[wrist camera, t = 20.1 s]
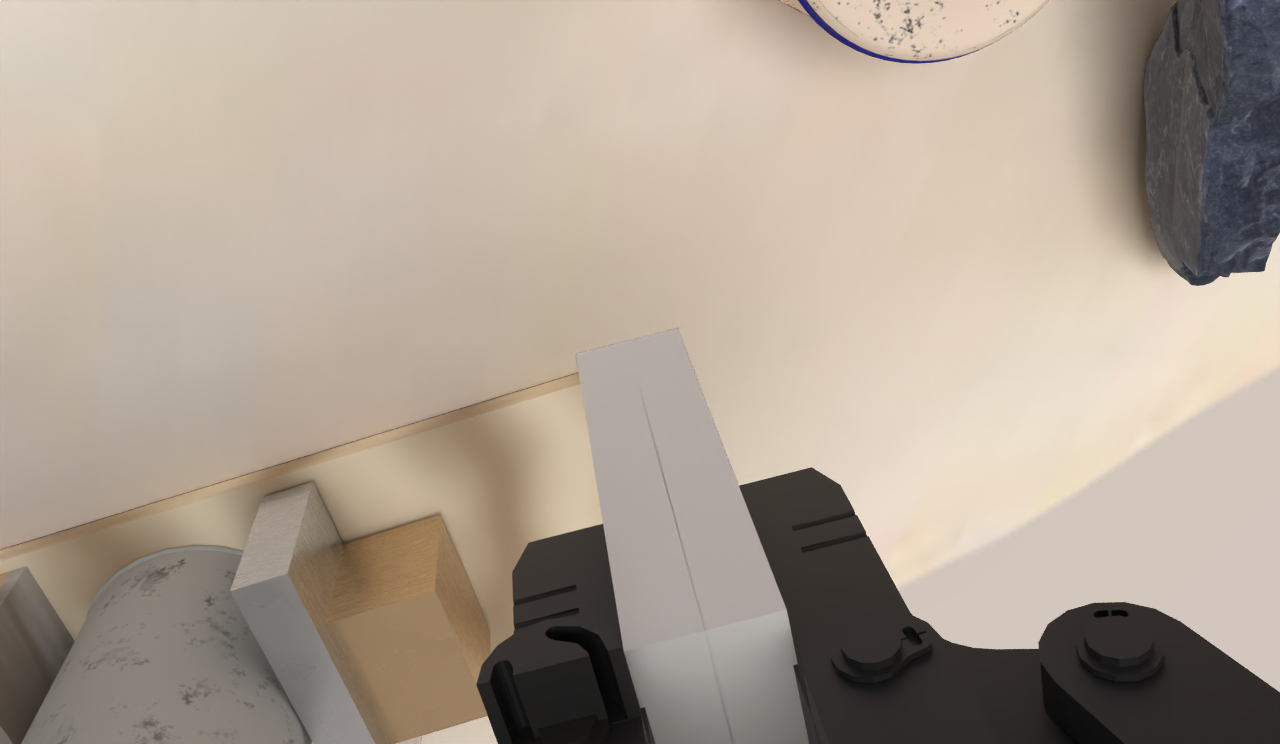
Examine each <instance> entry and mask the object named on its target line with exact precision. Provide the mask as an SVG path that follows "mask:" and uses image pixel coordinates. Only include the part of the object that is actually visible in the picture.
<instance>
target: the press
mask: <svg viewBox="0 0 1280 744" xmlns="http://www.w3.org/2000/svg"><path fill="white" fill-rule="evenodd" d="M311 482H313V483H314V485H315V487H316V489H317V491H318V494H319V496H320V498H321V500H322V502H323V504H324V506H325V508H326V510H327V512H328V514H329V516H330V518H331V521H332V523H333V525H334V527H335V529H336V531H337V533H338V535H339V537H340V539H341V541H342V543H343V544H347V543H350V542H353V541H356V540H360V539H363V538H366V537H369V536H373V535H376V534H379V533H382V532H386V531H389V530H392V529H396V528H399V527H402V526H405V525H409V524H412V523H415V522H418V521H422V520H425V519H428V518H432V517H435V516H438V515H441V517H442V519H443V521H444V524H445V526H446V528H447V531H448V533H449V535H450V538H451V540H452V542H453V545H454V547H455V550H456V552H457V554H458V557H459V559H460V561H461V564H462V566H463V568H464V571H465V573H466V575H467V578H468V580H469V582H470V585H471V587H472V589H473V592H474V594H475V596H476V599H477V601H478V603H479V606H480V608H481V610H482V613H483V615H484V617H485V620H486V622H487V624H488V627H489V629H490V654H491V653H492V652H493V650H494V649H495V648H496V647H497V645H499V644H500V643H502V642H503V641H505V640H506V639H507V638H509V637H510V636H512V635H513V634H514V630H515V628H514V624H513V606H514V603H513V583H512V571H513V570H514V568H515V566H516V564H517V562H518V561H519V559H520V557H521V555H522V553H523V551H524V550H525V548H526V546H527V544H528V543H529V542H533V541H537V540H541V539H545V538H548V537H552V536H556V535H560V534H564V533H568V532H572V531H576V530H580V529H584V528H588V527H592V526H596V525H600V524H603V520H602V514H601V508H600V502H599V495H598V489H597V483H596V477H595V471H594V465H593V458H592V452H591V446H590V440H589V434H588V428H587V421H586V415H585V409H584V403H583V397H582V391H581V384H580V378H579V373H577V374H574V375H570V376H567V377H564V378H560V379H557V380H554V381H551V382H547V383H544V384H541V385H538V386H534V387H531V388H528V389H525V390H521V391H518V392H515V393H512V394H508V395H505V396H502V397H499V398H495V399H492V400H489V401H485V402H482V403H479V404H476V405H472V406H469V407H466V408H463V409H459V410H456V411H453V412H450V413H446V414H443V415H440V416H437V417H433V418H430V419H427V420H423V421H420V422H417V423H414V424H410V425H407V426H404V427H401V428H397V429H394V430H391V431H388V432H384V433H381V434H378V435H375V436H371V437H368V438H365V439H362V440H358V441H355V442H352V443H348V444H345V445H342V446H339V447H335V448H332V449H329V450H326V451H322V452H319V453H316V454H313V455H309V456H306V457H303V458H300V459H296V460H293V461H290V462H287V463H283V464H280V465H277V466H273V467H270V468H267V469H264V470H260V471H257V472H254V473H251V474H247V475H244V476H241V477H238V478H234V479H231V480H228V481H225V482H221V483H218V484H215V485H211V486H208V487H205V488H202V489H198V490H195V491H192V492H189V493H185V494H182V495H179V496H176V497H172V498H169V499H166V500H163V501H159V502H156V503H153V504H150V505H146V506H143V507H140V508H136V509H133V510H130V511H127V512H123V513H120V514H117V515H114V516H110V517H107V518H104V519H101V520H97V521H94V522H91V523H88V524H84V525H81V526H78V527H75V528H71V529H68V530H65V531H61V532H58V533H55V534H52V535H48V536H45V537H42V538H39V539H35V540H32V541H29V542H26V543H22V544H19V545H16V546H13V547H9V548H6V549H3V550H0V744H21V743H22V741H23V739H24V737H25V735H26V733H27V732H28V730H29V728H30V726H31V724H32V722H33V720H34V718H35V716H36V714H37V712H38V711H39V709H40V707H41V705H42V703H43V701H44V699H45V697H46V695H47V693H48V692H49V690H50V688H51V686H52V684H53V682H54V680H55V678H56V676H57V674H58V672H59V671H60V669H61V667H62V665H63V663H64V661H65V659H66V657H67V655H68V653H69V651H70V650H71V648H72V646H73V644H74V642H75V640H76V638H77V636H78V634H79V632H80V631H81V629H82V627H83V625H84V623H85V621H86V617H87V613H88V610H89V608H90V606H91V604H92V603H93V601H94V599H95V597H96V595H97V594H98V592H99V590H100V588H101V587H102V586H103V585H104V584H105V583H106V582H107V581H108V580H109V579H110V578H111V577H112V576H113V575H114V574H115V573H116V572H117V571H119V570H121V569H122V568H124V567H126V566H127V565H129V564H130V563H132V562H134V561H135V560H137V559H139V558H140V557H143V556H146V555H149V554H152V553H155V552H158V551H161V550H163V549H167V548H174V547H181V546H188V545H212V546H225V547H229V548H234V549H238V550H242V551H244V549H245V546H246V544H247V541H248V538H249V535H250V532H251V529H252V527H253V524H254V521H255V518H256V515H257V512H258V509H259V507H260V504H261V501H262V498H263V497H265V496H269V495H272V494H275V493H279V492H282V491H285V490H288V489H292V488H295V487H298V486H301V485H305V484H308V483H311ZM312 744H314V743H313V741H312Z"/></svg>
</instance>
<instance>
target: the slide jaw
mask: <svg viewBox="0 0 1280 744" xmlns="http://www.w3.org/2000/svg"><path fill="white" fill-rule="evenodd" d="M230 592H231V594H232V596H233V598H234V600H235V601H236V603H237V605H238V607H239V609H240V611H241V612H242V614H243V616H244V618H245V620H246V621H247V623H248V625H249V627H250V629H251V631H252V632H253V634H254V636H255V638H256V640H257V641H258V643H259V645H260V647H261V649H262V651H263V652H264V654H265V656H266V658H267V660H268V661H269V663H270V665H271V667H272V669H273V671H274V672H275V674H276V676H277V678H278V680H279V681H280V683H281V685H282V687H283V689H284V691H285V692H286V694H287V696H288V698H289V700H290V701H291V703H292V705H293V707H294V709H295V711H296V712H297V714H298V716H299V718H300V720H301V721H302V723H303V725H304V727H305V729H306V731H307V732H308V734H309V736H310V738H311V740H312V741H313V743H314V744H421V741H422V735H426V734H429V733H432V732H435V731H439V730H442V729H445V728H449V727H452V726H455V725H458V724H462V723H465V722H468V721H472V720H475V719H478V718H481V717H485V716H488V715H487V712H486V710H485V707H484V704H483V702H482V699H481V696H480V693H479V691H478V688H477V685H476V684H477V681H478V677H479V673H480V670H481V666H482V664H483V663H484V662H485V660H486V659H487V658H488V657H489V655H490V629H489V627H488V624H487V622H486V620H485V617H484V615H483V613H482V610H481V608H480V606H479V603H478V601H477V599H476V596H475V594H474V592H473V589H472V587H471V585H470V582H469V580H468V578H467V575H466V573H465V571H464V568H463V566H462V564H461V561H460V559H459V557H458V554H457V552H456V550H455V547H454V545H453V542H452V540H451V538H450V535H449V533H448V531H447V528H446V526H445V524H444V521H443V519H442V517H441V515H438V516H435V517H432V518H428V519H425V520H422V521H418V522H415V523H412V524H409V525H405V526H402V527H399V528H396V529H392V530H389V531H386V532H382V533H379V534H376V535H373V536H369V537H366V538H363V539H360V540H356V541H353V542H350V543H347V544H343V543H342V541H341V539H340V537H339V535H338V533H337V531H336V529H335V527H334V525H333V523H332V521H331V518H330V516H329V514H328V512H327V510H326V508H325V506H324V504H323V502H322V500H321V498H320V496H319V494H318V491H317V489H316V487H315V485H314V483H313V482H311V483H308V484H305V485H301V486H298V487H295V488H292V489H288V490H285V491H282V492H279V493H275V494H272V495H269V496H265V497H263V498H262V501H261V504H260V507H259V509H258V512H257V515H256V518H255V521H254V524H253V527H252V529H251V532H250V535H249V538H248V541H247V544H246V546H245V549H244V552H243V555H242V558H241V561H240V564H239V566H238V569H237V572H236V575H235V578H234V581H233V584H232V586H231V589H230Z"/></svg>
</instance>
